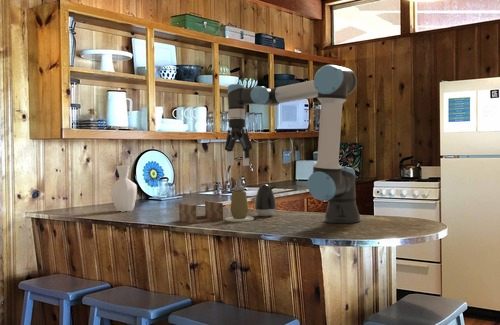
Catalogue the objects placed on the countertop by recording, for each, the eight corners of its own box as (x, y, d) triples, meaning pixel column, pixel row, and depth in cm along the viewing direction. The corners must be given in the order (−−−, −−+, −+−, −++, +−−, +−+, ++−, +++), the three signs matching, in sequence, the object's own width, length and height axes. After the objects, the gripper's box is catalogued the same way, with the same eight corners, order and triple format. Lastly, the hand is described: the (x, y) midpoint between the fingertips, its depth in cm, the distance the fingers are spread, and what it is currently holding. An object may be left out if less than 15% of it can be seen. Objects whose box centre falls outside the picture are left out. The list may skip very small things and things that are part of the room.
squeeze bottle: (235, 219, 247) (234, 179, 247) (227, 217, 255) (226, 178, 254) (251, 218, 251) (250, 178, 251) (243, 216, 258) (242, 177, 258)
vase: (143, 210, 308) (141, 165, 308) (124, 213, 296) (122, 166, 296) (124, 209, 316) (123, 165, 315) (105, 212, 304) (104, 166, 303)
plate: (259, 219, 251) (259, 218, 251) (234, 222, 244) (234, 220, 244) (244, 217, 262) (244, 215, 262) (220, 219, 255) (220, 218, 255)
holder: (223, 220, 252) (222, 202, 252) (193, 223, 245) (193, 205, 245) (208, 217, 265) (207, 200, 265) (179, 220, 258) (179, 203, 257)
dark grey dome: (275, 217, 259) (274, 184, 259) (253, 217, 261) (252, 184, 261) (278, 214, 269) (277, 183, 269) (257, 214, 271) (256, 183, 271)
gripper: (258, 116, 243) (260, 165, 243) (230, 120, 264) (232, 165, 265) (243, 116, 239) (245, 166, 240) (216, 120, 260) (218, 165, 261)
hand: (238, 165), depth 252 cm, fingers open, 13 cm apart
